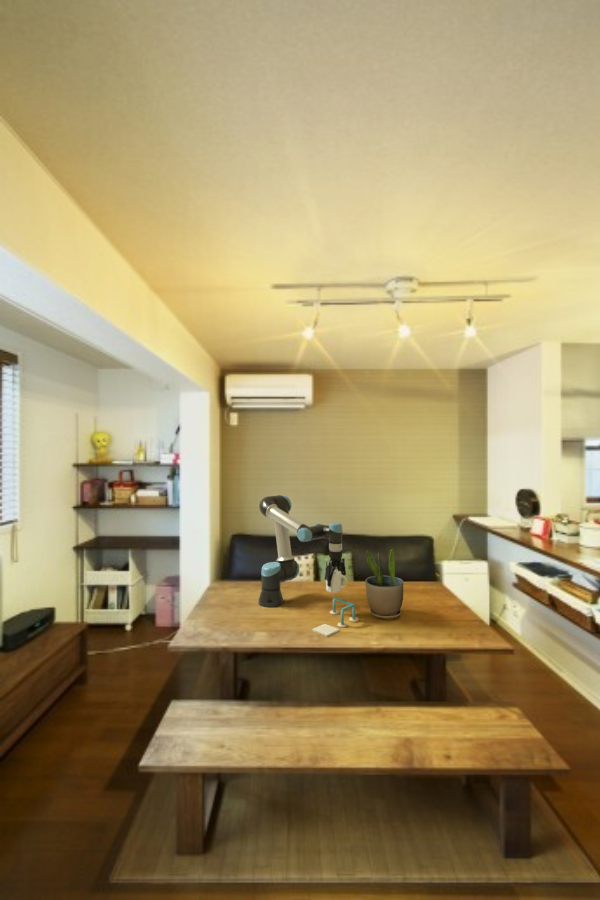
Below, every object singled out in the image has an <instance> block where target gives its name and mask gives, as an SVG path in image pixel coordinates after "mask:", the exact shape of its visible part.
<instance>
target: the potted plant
mask: <svg viewBox="0 0 600 900" xmlns="http://www.w3.org/2000/svg"><path fill="white" fill-rule="evenodd" d="M388 557H389V560H388V572H389V575H384V571H383V565H382V562H381V558H380V554H379V553H377V558H378V559H377V560H378V564H377V562H376V561H375V558H374V557H373V555H372V554H371V552H370V551H369V550H368V549H367V550H366V561H367V565H368V567H369V569H370V570H371V572H372V573H373V575H374V576H373V575H372V576H369V577H367V578H366V579H365V581H364V582H365V593H366V594H365V595H366V600H367V604H368V606H369V613H370V614H371V615H372V616H373V617H375V618H377V619H382V620H395V619H397V618H399V617H400V616H401V615H402V610H401V608H402V606H403V602H404V601H403V600H404V580H403V579H402V578H399V577H396V576H395V575H396V573H395V572H396V571H395V570H396V569H395V568H396V567H395V566H396V563H395V554H394V548H392V549H390V553H389V556H388Z"/></svg>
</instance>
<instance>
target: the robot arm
mask: <svg viewBox="0 0 600 900" xmlns="http://www.w3.org/2000/svg"><path fill="white" fill-rule="evenodd" d="M258 505H259V506H258V508H259V512H260V513H261V514H262V515H263V516H264V517H265V518H266V519H272V520H273V522H274V524H273V525H274V531H275V539H276V540H275V541H276V549H277V558H276V560H275V561H270V562H267V563H264V564H263V565H262V567H261V574H260V575H261V578H260V579H261V587H260V589H261V590H260V594H259V597H258V599H257V600H258V602H257V603H258V605H259V606H261V607H266V608H274V607H278V606H281V605H283V604H284V598H283V597H284V596H283V594H282V590H281V584H282V583H285V582H288V581H292V580H293V579H296V578H297V577H298V576H299V573H300V565H299V563H298V562H297V560H295V557H294V556H293V555H292V549H291V548H292V547H291V539H290V532H292V533H293V534H295V535H296V537H297V538H298V539H297V540H299V541H300V542H302V543H305V542H310V541H313V540H319V539H327V540H328V550H329V551H328V557H329V561H326V562H325V563H326V564H325V565H326V568H325V574H324V580H325V581H326V580H327V586H328V591H327V592H328V593H332V576H333V573H334V570H338V572H339V571H341V574H342V575H344V576H345V577H346V575H347V571H346V562H345V561H346V560H345V558H343V524H342V523H340V522H330V523H329V524H328V525H327V524H322V523H315V524H313V526H308V525H306V524H305V523H303V522H301V521H300V520H298V519H297V518H295V517H294V516H292V515H290V513H289V512H290V511H291V509H292V501H291V499H290V498H289V496H286V495H283V494H278V495H270V496H269V495H268V496H265V497H263V498H262V499H261V500H260V501H259V504H258ZM289 531H290V532H289ZM341 585H343V586H344V578H341ZM343 589H344V588H342V589H341V590H343ZM332 594H333V593H332Z"/></svg>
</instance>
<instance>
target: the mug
mask: <svg viewBox="0 0 600 900" xmlns="http://www.w3.org/2000/svg"><path fill="white" fill-rule="evenodd" d="M341 578H343V579H345V584H343V585H341ZM347 584H348V579H347V577H346V575H345V576H344V575H342V574H341V571H339V572H338V569H334V573H333V576H332V594H335V593H336V594H337V593H340V592H342V591H341V590H343V589H344V588H346V586H347ZM342 588H343V589H342ZM325 590H326V592H328V586H327V580H325Z"/></svg>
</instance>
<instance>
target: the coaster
mask: <svg viewBox="0 0 600 900" xmlns="http://www.w3.org/2000/svg"><path fill="white" fill-rule="evenodd" d="M311 632H314V633H316V634H319V635H322V636H323V637H325V638H328V637H329V636H332V635H334V634H336V633H338V632H340V628H338V627H335V626H332V625H329V624H326V623H323V624H320V625H318V626H316V627H314V628H312V629H311Z"/></svg>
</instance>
